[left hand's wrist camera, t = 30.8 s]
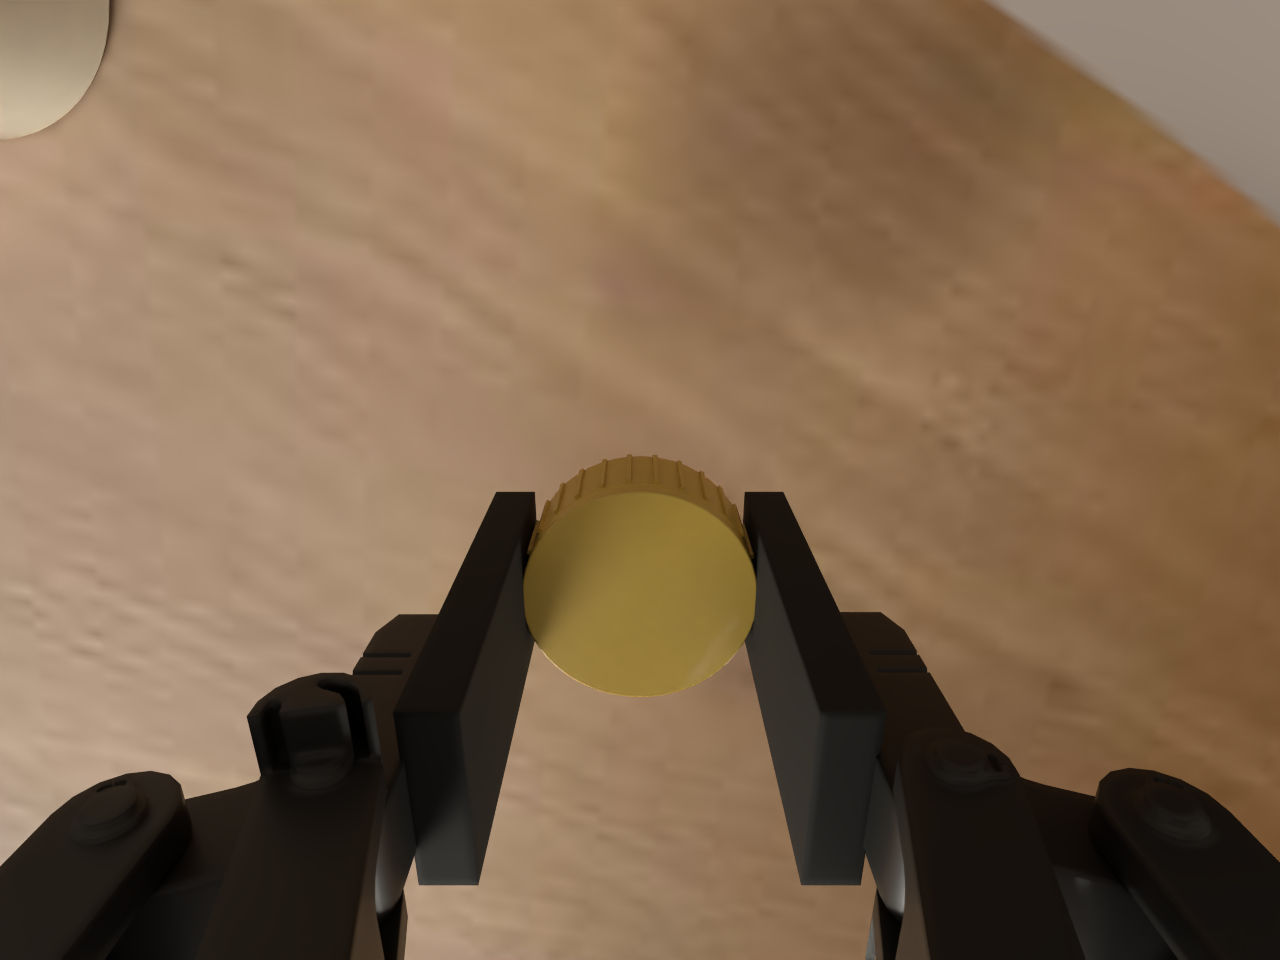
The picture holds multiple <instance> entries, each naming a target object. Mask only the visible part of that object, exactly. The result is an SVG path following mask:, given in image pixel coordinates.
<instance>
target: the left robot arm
mask: <svg viewBox="0 0 1280 960" xmlns="http://www.w3.org/2000/svg"><path fill="white" fill-rule="evenodd" d="M535 524H536V506H535V492H496V494H495V496H494V498H493V500H492V502H491V504H490V506H489V509H488V511H487V513H486V515H485V517H484V519H483V521H482V523H481V526H480V528H479V530H478V532H477V534H476V536H475V538H474V540H473V542H472V545H471V547H470V549H469V551H468V553H467V555H466V557H465V559H464V562H463V564H462V566H461V568H460V570H459V572H458V574H457V576H456V579H455V581H454V583H453V585H452V587H451V589H450V591H449V593H448V596H447V598H446V600H445V602H444V604H443V606H442V608H441V610H440V612H439V614H399V615H398V616H396V617H395V618H394V619H392V620H391V621H390V622H389V623H387V624H386V625H385V626H383V627H382V628H381V629H379V630H378V631H377V632H376V633H375V634H374V636H373V638H372V639H371V641H370V643H369V644H368V646H367V648H366V649H365V651H364V653H363V657H361V658H360V659H359V661H358V663H357V664H356V666H355V668H354V670H353V675H349V674H346V673H319V674H314V675H310V676H306V677H301V678H297V679H295V680H293V681H291V682H288V683H286V684H284V685H281V686H279V687H277V688H275V689H274V690H272V691H271V692H270V693H268V694H267V695H266V696H264V697H263V698H262V699H260V700H259V701H258V702H257V703H256V704H255V706H254V707H253V708H252V710H251V711H250V713H249V714H248V715H247V719H248V724H249V728H250V732H251V736H252V740H253V744H254V748H255V752H256V757H257V761H258V765H259V769H260V773H261V776H260V779H259V780H258V781H256V782H253V783H249V784H246V785H243V786H240V787H236V788H232V789H228V790H224V791H219V792H215V793H211V794H207V795H202V796H198V797H194V798H189V799H185V798H184V795H183V791H182V788H181V784H179V783H178V782H177V781H176V780H175V779H174V778H173V777H172V776H171V775H169V774H164V773H159V772H154V771H147V772H138V773H129V774H124V775H121V776H118V777H115V778H112V779H109V780H106V781H103V782H100V783H98V784H96V785H94V786H92V787H91V788H89V789H87V790H85V791H83V792H81V793H79V794H77V795H76V796H74V797H72V798H71V799H70V800H69V801H67V802H66V803H65V804H64V805H62V806H61V807H60V808H59V809H58V810H56V811H55V812H54V813H53V814H51V815H50V816H49V817H48V818H47V819H46V820H45V821H44V822H43V823H42V824H41V825H40V827H39V828H38V829H37V830H36V831H35V832H34V833H33V834H32V835H31V836H30V837H29V838H28V839H27V840H26V841H25V842H24V843H23V844H22V845H21V846H20V847H19V848H18V849H17V850H16V851H15V852H14V853H13V854H12V855H11V856H10V857H9V858H8V859H7V860H6V861H5V862H4V863H3V864H2V865H1V866H0V960H404V955H405V943H406V932H407V920H408V915H407V908H406V901H405V895H404V889H403V888H404V885H405V882H406V879H407V876H408V873H409V870H410V867H411V864H412V861H413V858H414V856H415V862H416V869H417V875H418V882H419V885H478V884H479V879H480V875H481V871H482V866H483V862H484V858H485V853H486V849H487V845H488V840H489V836H490V832H491V827H492V823H493V819H494V815H495V810H496V806H497V802H498V797H499V793H500V789H501V784H502V780H503V776H504V771H505V767H506V763H507V758H508V754H509V750H510V745H511V741H512V737H513V732H514V728H515V724H516V719H517V715H518V711H519V706H520V702H521V698H522V694H523V689H524V685H525V681H526V676H527V672H528V668H529V663H530V659H531V655H532V650H533V646H534V642H535V640H534V638H533V636H532V635H531V632H530V630H529V627H528V625H527V622H526V618H525V607H524V591H523V577H524V572H525V568H526V564H527V561H528V558H529V555H528V554H526V553H527V550H528V546H529V543H530V540H531V537H532V534H533V530H534V527H535ZM743 524H744V525H745V528H746V531H747V534H748V538H749V541H750V544H751V547H752V550H753V554H754V558H753V559H752V562H753V566H754V570H755V573H756V577H757V582H756V599H755V614H754V621H753V624H752V627H751V630H750V632H749V634H748V635H747V637H746V639H745V644H746V648H747V652H748V657H749V661H750V665H751V670H752V674H753V678H754V683H755V687H756V691H757V696H758V700H759V704H760V709H761V713H762V717H763V721H764V726H765V730H766V734H767V739H768V743H769V747H770V752H771V756H772V760H773V765H774V769H775V773H776V778H777V782H778V786H779V791H780V795H781V799H782V804H783V808H784V812H785V817H786V821H787V825H788V830H789V834H790V838H791V843H792V847H793V851H794V855H795V860H796V864H797V868H798V873H799V877H800V881H801V885H861V879H862V872H863V866H864V859H865V853H866V856H867V859H868V862H869V865H870V868H871V871H872V874H873V877H874V880H875V883H876V885H877V889H876V895H875V901H874V908H873V914H872V920H871V926H870V932H869V938H868V944H867V951H866V958H865V960H875V956H876V960H1280V862H1279V861H1278V860H1277V859H1276V858H1275V857H1274V856H1273V855H1272V854H1271V853H1270V852H1269V851H1268V850H1267V849H1266V848H1265V847H1264V846H1263V845H1262V844H1261V843H1260V842H1259V841H1258V840H1257V839H1256V838H1255V837H1254V836H1253V835H1252V834H1251V833H1250V832H1249V831H1248V830H1247V829H1246V828H1245V827H1244V826H1243V825H1242V824H1241V823H1240V822H1239V821H1238V820H1237V819H1236V818H1235V817H1234V816H1233V815H1232V813H1231V812H1229V811H1228V810H1227V809H1226V808H1225V807H1223V806H1222V805H1221V804H1220V803H1218V802H1217V801H1216V800H1215V799H1213V798H1212V797H1211V796H1210V795H1208V794H1207V793H1205V792H1203V791H1201V790H1200V789H1198V788H1196V787H1194V786H1192V785H1190V784H1188V783H1186V782H1185V781H1183V780H1181V779H1178V778H1175V777H1172V776H1169V775H1166V774H1162V773H1159V772H1156V771H1152V770H1143V769H1135V768H1126V769H1121V770H1116V771H1111V772H1110V773H1108V774H1107V775H1106V776H1105V777H1104V778H1103V779H1102V780H1101V781H1100V782H1099V786H1098V789H1097V792H1096V796H1090V795H1086V794H1082V793H1077V792H1073V791H1069V790H1064V789H1060V788H1056V787H1052V786H1047V785H1043V784H1040V783H1037V782H1033V781H1030V780H1027V779H1024V778H1022V777H1020V775H1019V773H1018V771H1017V770H1016V768H1015V767H1014V765H1013V764H1012V762H1011V760H1010V759H1009V758H1008V757H1007V756H1006V755H1005V754H1004V753H1002V752H1001V751H1000V750H999V749H998V748H996V747H995V746H994V745H993V744H991V743H989V742H987V741H985V740H983V739H981V738H979V737H977V736H975V735H973V734H971V733H968V732H965V731H964V729H963V727H962V726H961V724H960V722H959V721H958V719H957V717H956V716H955V714H954V712H953V711H952V709H951V707H950V706H949V704H948V702H947V701H946V699H945V697H944V696H943V694H942V692H941V691H940V689H939V687H938V686H937V684H936V682H935V681H934V679H933V677H932V676H931V674H930V673H927V667H926V666H925V664H924V662H923V661H922V659H921V657H920V656H919V655H917V651H916V649H915V647H914V646H913V644H912V642H911V641H910V639H909V637H908V636H907V634H906V632H905V631H904V630H903V629H902V628H901V627H900V626H898V625H897V624H896V623H894V622H893V621H892V620H890V619H889V618H888V617H886V616H885V615H884V614H882V613H881V612H840V611H839V609H838V607H837V605H836V603H835V601H834V599H833V597H832V594H831V592H830V590H829V588H828V586H827V584H826V582H825V580H824V578H823V575H822V573H821V571H820V569H819V567H818V565H817V563H816V561H815V558H814V556H813V554H812V552H811V550H810V548H809V546H808V544H807V541H806V539H805V537H804V535H803V533H802V531H801V529H800V527H799V524H798V522H797V520H796V518H795V516H794V514H793V512H792V510H791V508H790V505H789V503H788V501H787V499H786V497H785V495H784V493H783V492H745V497H744V515H743Z"/></svg>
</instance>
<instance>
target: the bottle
mask: <svg viewBox="0 0 1280 960" xmlns="http://www.w3.org/2000/svg"><path fill="white" fill-rule="evenodd" d="M109 5H110V0H0V140H5V139H12V138H19V137H22V136H25V135H29V134H32V133H35V132H38V131H40V130H42V129H44V128H46V127H48V126H50V125H52V124H53V123H55V122H56V121H57V120H59V119H60V118H61V117H63V116H64V115H66V114H67V113H68V112H69V111H70V110H71V109H72V108H73V107H74V106H75V105H76V104H77V103H78V102H79V101H80V100H81V99H82V97H83V96H84V94H85V93H86V91H87V90H88V88H89V87H90V85H91V84H92V82H93V80H94V77H95V75H96V73H97V71H98V69H99V67H100V64H101V61H102V57H103V54H104V50H105V47H106V42H107V35H108V28H109Z"/></svg>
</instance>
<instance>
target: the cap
mask: <svg viewBox="0 0 1280 960" xmlns="http://www.w3.org/2000/svg"><path fill="white" fill-rule="evenodd" d="M526 554H528V555H529V558H528V561H527V564H526V568H525V572H524V577H523V591H524V607H525V618H526V622H527V625H528V627H529V630H530V632H531V635H532V636H533V638H534V640H535V641H536V643H537V645H538V647H539V648H540V649H541V650H542V652H543V653H544V654H545V656H546V657H547V658H548V659H549V660H550V661H551V662H552V663H553V664H554V665H555V666H556V667H557V668H559V669H560V670H561V671H563V672H564V673H565V674H567V675H568V676H570V677H571V678H573V679H575V680H576V681H578V682H580V683H582V684H584V685H586V686H589V687H591V688H593V689H596V690H599V691H603V692H606V693H610V694H615V695H620V696H631V697H650V696H658V695H665V694H669V693H673V692H677V691H681V690H683V689H686V688H689V687H692V686H694V685H696V684H698V683H700V682H702V681H704V680H705V679H707V678H708V677H710V676H712V675H713V674H715V673H716V672H717V671H719V670H720V669H721V668H722V667H723V666H724V665H726V664H727V663H728V662H729V661H730V660H731V658H732V657H733V656H734V655H735V654H736V653H737V651H738V650H739V649H740V647H741V646H742V644H743V643H744V641H745V639H746V637H747V635H748V634H749V632H750V630H751V627H752V624H753V621H754V614H755V599H756V582H757V577H756V573H755V570H754V566H753V562H752V559H753V558H754V554H753V550H752V547H751V544H750V541H749V538H748V534H747V531H746V528H745V525H744V524H743V525H742V523H741V520H740V517H739V513H738V510H737V507H736V505H735V504H733V505H732V504H731V503H730V501H729V500H728V498H727V497H726V496H725V495H724V492H723V488H722V487H721V486H719V487H717V486H716V485H715V484H714V483H713V482H711V481H710V480H709V479H708V478H706V477H705V475H704V472H702V471H700V472H697V471H695V470H693V469H691V468H689V467H687V466H685V465H682V462H681V461H679V460H678V461H677V462H674V461H671V460H666V459H662V458H657V455H653V457H645V456H639V457H632V455H631V454H630V455H627V457H625V458H618V459H613V460H609V461H607V459H604V460H602V463H600V464H597V465H595V466H593V467H590V468H588V469H586V470H584V469H581V470H580V471H579V474H578V475H576V476H575V477H574V478H572V479H571V480H570V481H568V482H567V483H566V484H564V483H562V484H561V485H560V488H559V491H558V492H557V493H556V494H555V495H554V497H553V498H552V500H551V501H548V500H547V501H546V503H545V506H544V509H543V513H542V516H541V519H540V521H538V520H537V521H536V524H535V527H534V530H533V534H532V537H531V540H530V543H529V546H528V550H527V553H526Z"/></svg>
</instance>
